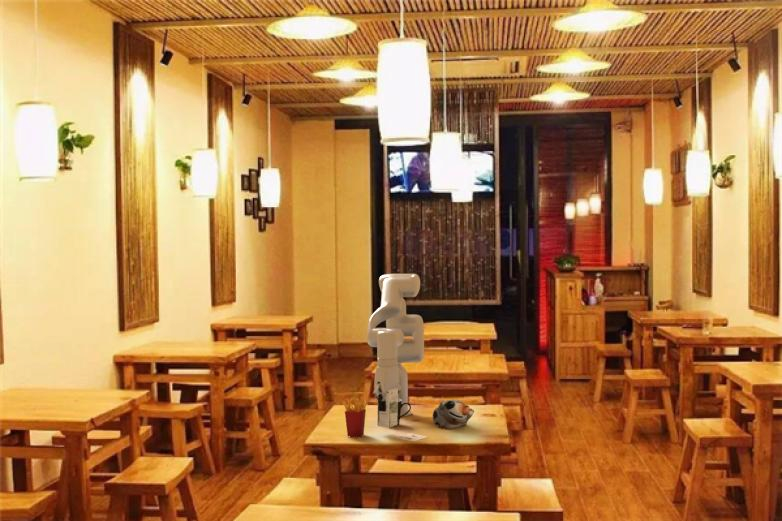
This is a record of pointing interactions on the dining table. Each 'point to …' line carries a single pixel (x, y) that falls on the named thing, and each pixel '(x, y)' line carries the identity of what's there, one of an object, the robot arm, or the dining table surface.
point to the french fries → (355, 417)
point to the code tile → (411, 437)
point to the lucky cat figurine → (452, 414)
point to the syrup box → (389, 410)
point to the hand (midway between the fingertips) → (387, 409)
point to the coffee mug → (400, 409)
